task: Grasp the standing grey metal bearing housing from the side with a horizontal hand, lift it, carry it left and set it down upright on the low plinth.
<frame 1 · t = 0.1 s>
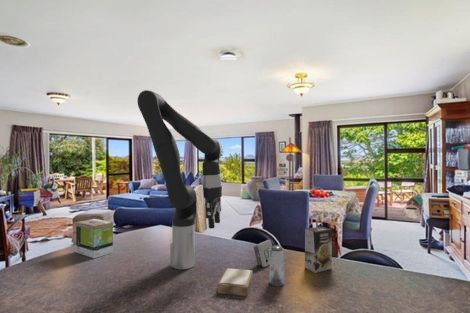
hand: (214, 225, 112), 17 cm above the countertop, tool pointing down, fingers open, 8 cm apart
housing: (276, 282, 99), on the countertop
tea box: (94, 253, 130), on the countertop
plinth: (236, 285, 97), on the countertop
electrical switch: (264, 263, 117), on the countertop
coffee box: (318, 268, 112), on the countertop
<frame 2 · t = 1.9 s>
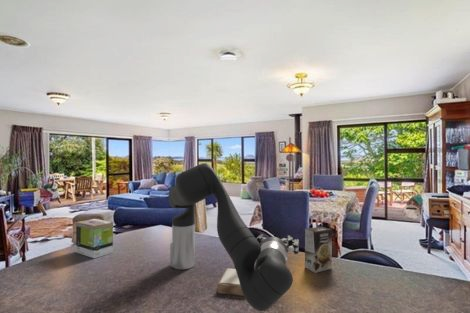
hand: (275, 237, 88), 19 cm above the countertop, tool horizontal, fingers open, 8 cm apart
nothing on the countertop moved.
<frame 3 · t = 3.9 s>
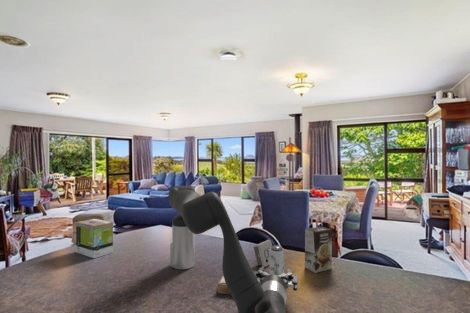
hand: (275, 270, 92), 7 cm above the countertop, tool horizontal, fingers open, 8 cm apart
nothing on the countertop moved.
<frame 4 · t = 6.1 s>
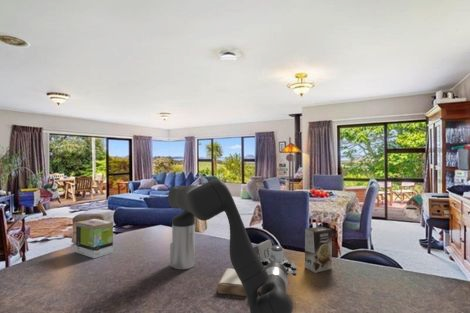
hand: (277, 259, 101), 8 cm above the countertop, tool horizontal, fingers closed on housing, 5 cm apart
housing: (276, 282, 99), on the countertop, touching gripper
everything else where it was.
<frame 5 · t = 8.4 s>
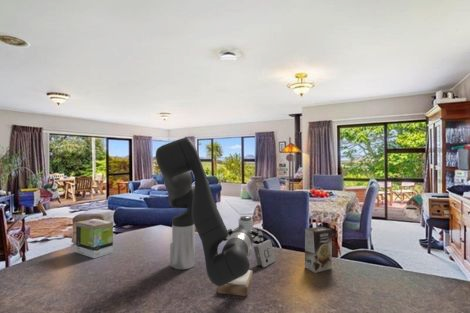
hand: (246, 230, 100), 19 cm above the countertop, tool horizontal, fingers closed on housing, 5 cm apart
housing: (245, 253, 98), point 11 cm above the countertop, touching gripper
everything else where it was.
when the fingers open (12 cm above the countertop, at t = 10.8 s): housing stays where it is, resting on plinth.
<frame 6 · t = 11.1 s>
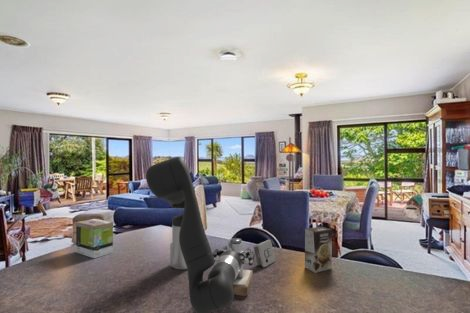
hand: (237, 249, 99), 12 cm above the countertop, tool horizontal, fingers open, 7 cm apart
housing: (236, 276, 97), point 3 cm above the countertop, touching plinth
everything else where it was.
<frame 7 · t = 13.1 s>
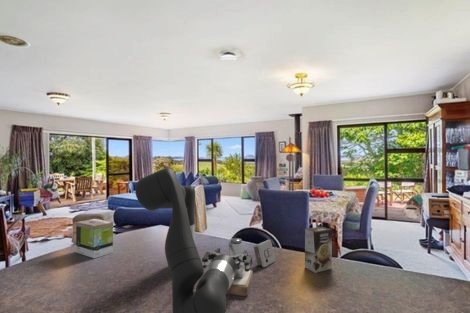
hand: (232, 252, 87), 15 cm above the countertop, tool horizontal, fingers open, 8 cm apart
nothing on the countertop moved.
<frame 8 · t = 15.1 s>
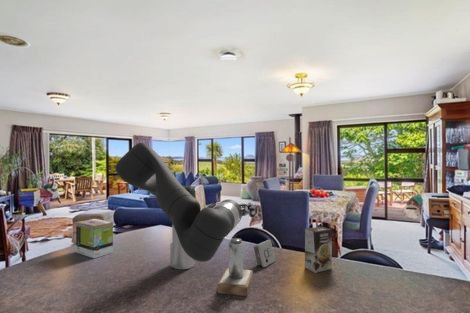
hand: (236, 205, 87), 30 cm above the countertop, tool horizontal, fingers open, 8 cm apart
nothing on the countertop moved.
at the end: housing inside the target area on the plinth (0.1 cm from its centre), point 3.3 cm above the plinth's base; housing tilted 0°; the gripper is holding nothing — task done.
